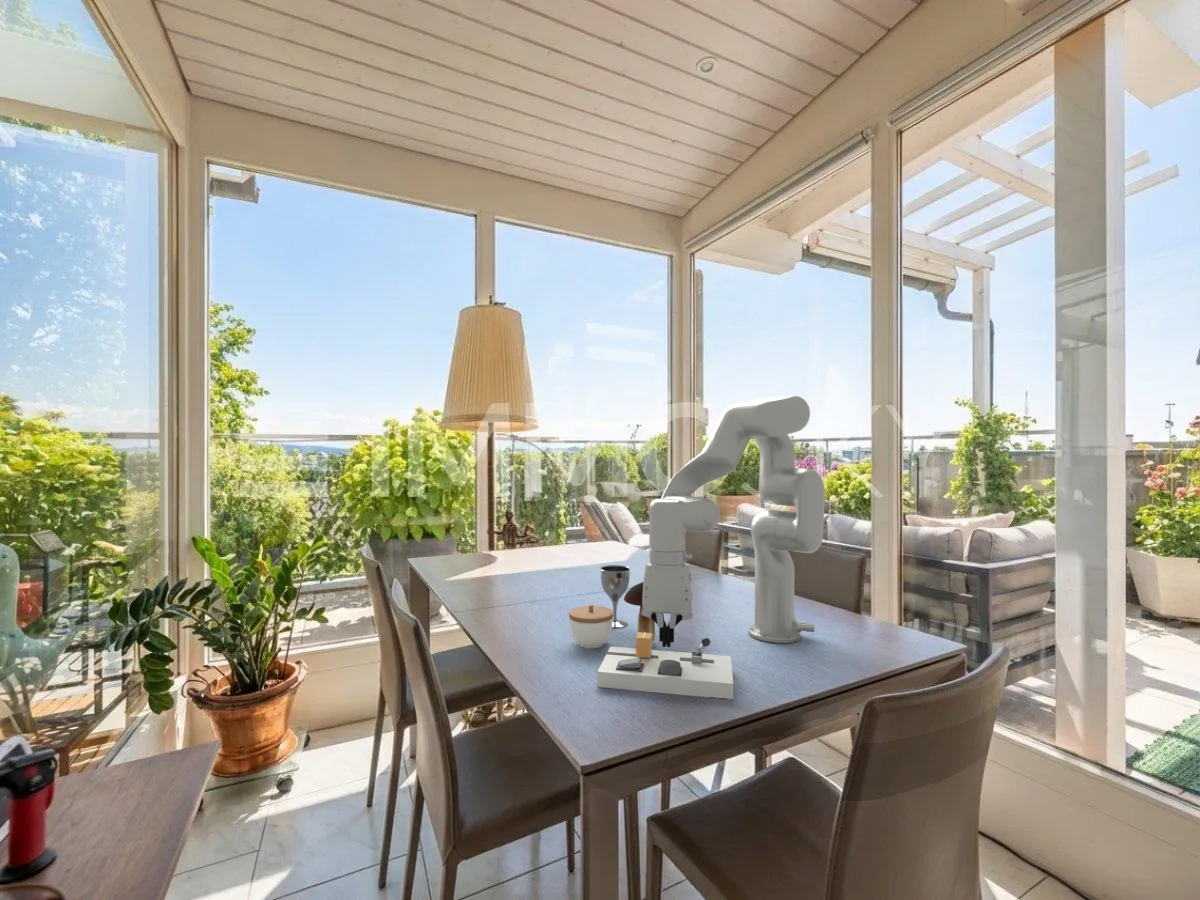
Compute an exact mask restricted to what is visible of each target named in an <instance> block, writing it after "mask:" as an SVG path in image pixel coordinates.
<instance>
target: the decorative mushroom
mask: <svg viewBox="0 0 1200 900" xmlns="http://www.w3.org/2000/svg"><path fill="white" fill-rule="evenodd" d="M642 597H643V581H641V582H639V583H638V584H635V585H634V586H632V587H631V588H629V589H627V591H626V592H625V595H624V597H623V601H624V602H625V603H627V604H629V605H633V606H638V607H639V611H638V612H639V613H638V619H637V632H636V633H637V634H638V632H643V633H644V632H646V633H652V643H654V641H655V637H656V625H655V623H656V622H655V621H654V620H653V619H652V618H649V617H646V616H643V615H642V614H641V612H642V608H643V605H642ZM637 634H636V635H637Z"/></svg>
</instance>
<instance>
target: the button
mask: <svg viewBox="0 0 1200 900" xmlns="http://www.w3.org/2000/svg"><path fill="white" fill-rule="evenodd" d="M660 675H670V676H680V663H679V662H678V661H675V660H663V661H661V662H660Z"/></svg>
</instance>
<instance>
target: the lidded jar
mask: <svg viewBox="0 0 1200 900" xmlns="http://www.w3.org/2000/svg"><path fill="white" fill-rule="evenodd" d="M613 617H614V612H613V610H612V609H610V608H609V607H605V606H601V605H600V606H599V605H593V604H589V605H583V606H577V607H573V608H572V609H570V610H569V611H568V619H569V620H568V621H569V631H570V634H571V637H572V638H573V640H574V641H575V642H576V643H577V644H579V645H580V646H581V648H583V647H584V649H597V648H601V647H603V646H604V644H605V643H606V642H607V641H608V639H609V638H610V636H611V633H612V631H613V628H612V625H613ZM579 645H578V646H579ZM580 646H579V647H580Z"/></svg>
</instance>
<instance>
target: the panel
mask: <svg viewBox="0 0 1200 900" xmlns="http://www.w3.org/2000/svg"><path fill="white" fill-rule="evenodd" d="M697 651H698V649H697V650H695V649H692V651H691V652H685V651H684V652H681V651H668V650H659V649H658V650H657V649H652V654H651V657H650V658H644V657H636V647H635V648H632V647H621V646H619V647H618V646H609V648H608V650H607V652H606V655H605V656H604V658H603V660H602V662H601V663H600V666H599V668H598V670H597V672H596V673H597V675H596V676H597V677H596V679H597V682H596V683H597V688H606V689H616V690H626V691H637V692H649V693H659V694H668V695H676V696H677V695H678V696H687V697H688V696H690V697H698V698H699V697H700V696H701V697H700V698H709V697H718V698H717V699H719V698H730V699H733V700H734V678H733V677H734V675H733V667H732V666H733V665H732V656H731V655H719V654H708V653H702V654H701V656H695V654H696V652H697ZM663 660H675V661H678V662H679V663H680V676H670V675H660V662H661V661H663ZM703 696H704V697H703ZM730 699H729V700H730Z"/></svg>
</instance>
